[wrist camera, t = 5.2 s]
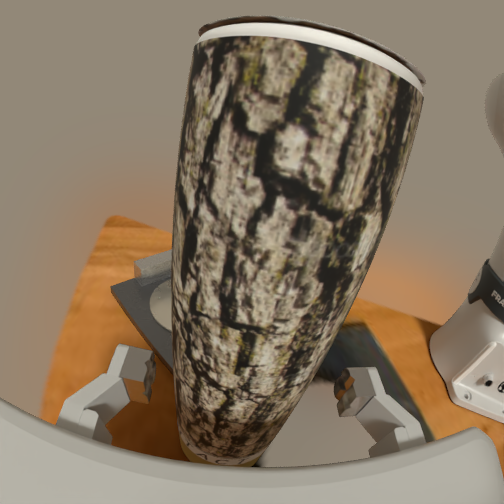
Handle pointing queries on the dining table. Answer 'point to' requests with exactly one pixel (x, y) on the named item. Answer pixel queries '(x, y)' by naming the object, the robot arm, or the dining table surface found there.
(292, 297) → the paper tube
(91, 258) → the dining table surface
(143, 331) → the collar plate
